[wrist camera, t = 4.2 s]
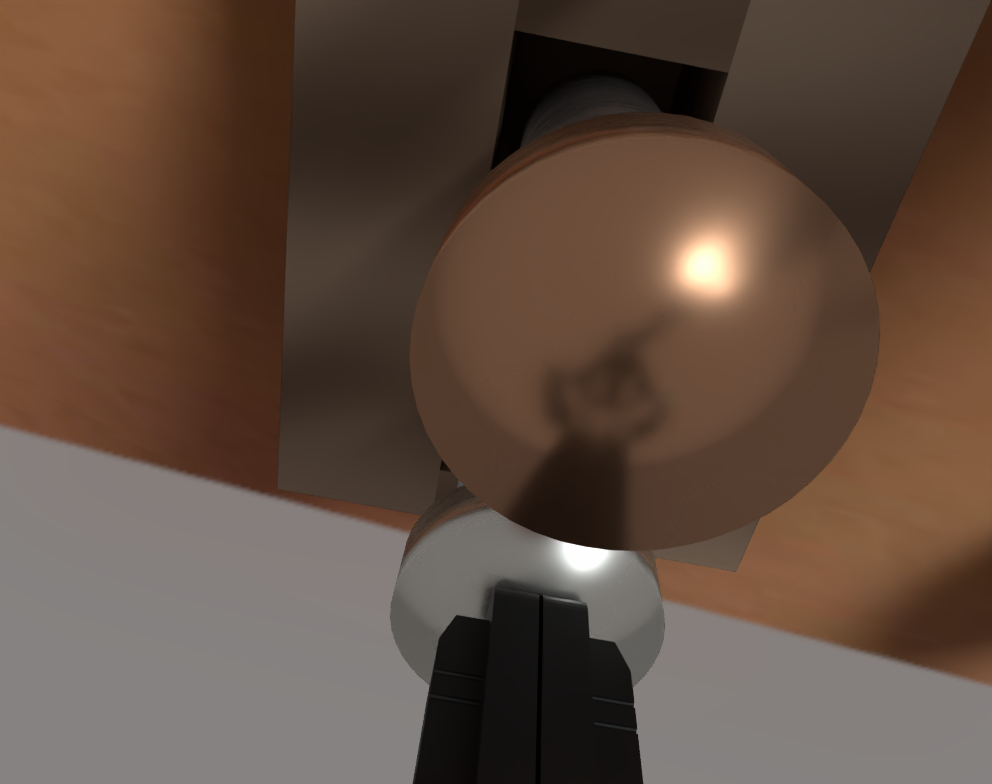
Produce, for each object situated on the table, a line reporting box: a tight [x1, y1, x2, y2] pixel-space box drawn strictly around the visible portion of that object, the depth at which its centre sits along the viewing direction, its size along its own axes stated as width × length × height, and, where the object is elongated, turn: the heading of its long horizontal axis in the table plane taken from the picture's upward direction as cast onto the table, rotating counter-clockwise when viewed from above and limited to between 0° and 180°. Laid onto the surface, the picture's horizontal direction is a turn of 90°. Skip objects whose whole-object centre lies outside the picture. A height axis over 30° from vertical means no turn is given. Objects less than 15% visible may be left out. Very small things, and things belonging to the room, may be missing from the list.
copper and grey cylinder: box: [410, 69, 880, 551], centre depth 12 cm, size 4×4×10 cm
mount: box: [277, 0, 991, 572], centre depth 18 cm, size 19×12×6 cm, turn 170°
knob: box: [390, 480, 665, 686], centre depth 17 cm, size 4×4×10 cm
